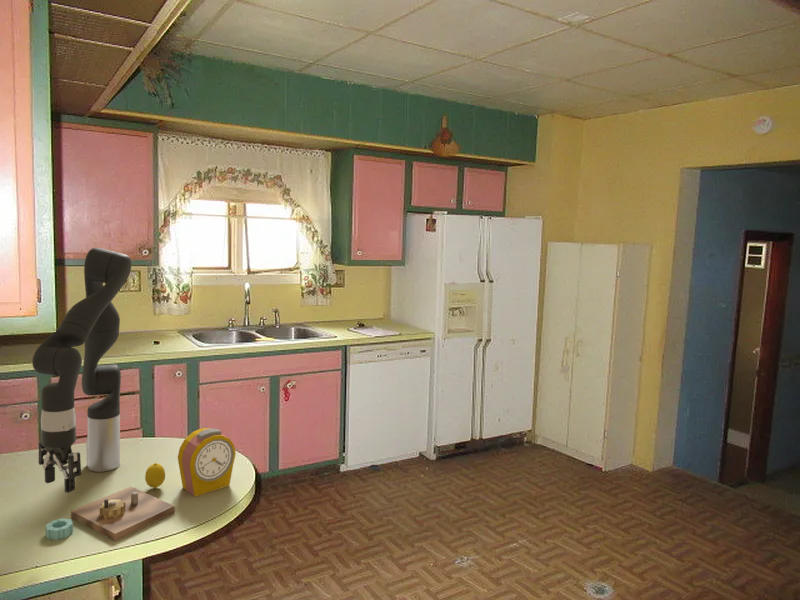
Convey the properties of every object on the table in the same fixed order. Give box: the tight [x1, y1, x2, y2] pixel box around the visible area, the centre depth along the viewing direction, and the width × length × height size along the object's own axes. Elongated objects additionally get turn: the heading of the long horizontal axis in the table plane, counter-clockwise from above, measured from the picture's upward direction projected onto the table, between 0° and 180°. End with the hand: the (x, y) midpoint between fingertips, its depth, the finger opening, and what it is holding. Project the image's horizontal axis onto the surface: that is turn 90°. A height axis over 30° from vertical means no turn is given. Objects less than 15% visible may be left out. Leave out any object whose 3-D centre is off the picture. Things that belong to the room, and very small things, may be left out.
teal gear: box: [45, 517, 74, 541], centre depth 151 cm, size 6×6×2 cm
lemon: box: [144, 462, 166, 489], centre depth 177 cm, size 6×6×8 cm
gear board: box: [70, 486, 176, 542], centre depth 161 cm, size 19×18×6 cm
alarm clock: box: [177, 427, 236, 497], centre depth 180 cm, size 15×8×18 cm, turn 137°
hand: (59, 486), depth 149 cm, fingers open, 8 cm apart
